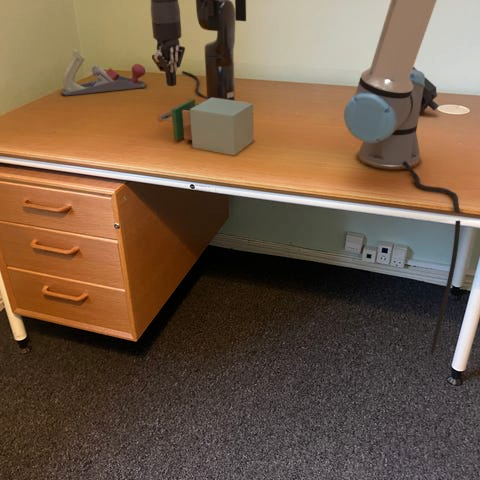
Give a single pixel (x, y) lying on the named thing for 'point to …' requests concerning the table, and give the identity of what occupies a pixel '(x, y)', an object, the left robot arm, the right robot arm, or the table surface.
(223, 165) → the table surface
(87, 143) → the table surface
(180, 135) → the drawer
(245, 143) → the grey box
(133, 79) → the hand plane
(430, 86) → the tool
